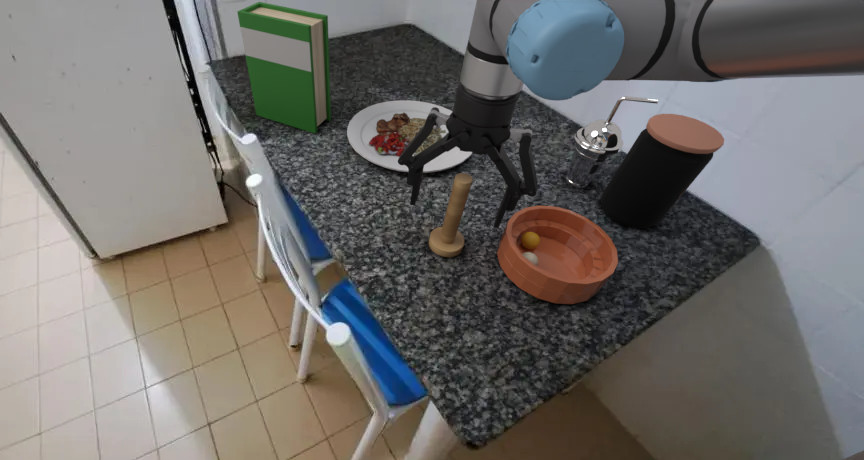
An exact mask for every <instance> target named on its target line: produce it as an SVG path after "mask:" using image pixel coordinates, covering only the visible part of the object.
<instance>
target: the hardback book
mask: <svg viewBox="0 0 864 460" xmlns="http://www.w3.org/2000/svg"><path fill="white" fill-rule="evenodd" d="M236 13H237V17H238V24H239V28H240V29H239V30H240V34H241V39H242V46H243V49H244V51H243V52H244V55H245V61H246V67H247V71H248V76H249V78H248V79H249V82H250V87H251V94H252V99H253V104H254V109H255V114H256V116H259V117H261V118H264V119H268V120H271V121H274V122H277V123H281V124H283V125H287V126H290V127H293V128H295V129H296V128H297V129H299V130H302V131H306V132H309V133H312V134H315V135H316V134H317V133H318V127H319V126H320V125H321V124H322V123H323V122H324V121H327V122H330V121H331V120H332V107H331V103H332V102H331V77H330V75H331V74H330V45H329V17H328V15H327V14H322V13H318V12H313V11H307V10H303V9H298V8H294V7H293V8H292V7H287V6H283V5H278V4H272V3H267V2H262V1H258V2H255V3H254V4H250V5H248V6H246V7H244V8H242V9H240V10H237V12H236Z"/></svg>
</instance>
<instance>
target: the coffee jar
mask: <svg viewBox="0 0 864 460" xmlns="http://www.w3.org/2000/svg"><path fill="white" fill-rule="evenodd" d="M724 143H725V138H724V137H723V134H722V133H721V132H719V130H718V129H716V128H715V127H713V126H711V125H710V124H708V123H706V122H704V121H703V120H702V121H701V120H699V119H697V118H694V117H691V116H686V115H682V114H677V113H659V114H654V115H653V116H651V117H649V119H648V121H647V124H646V126H645V128H644V129H643V130H642V131H640V133H639V134H638V136H637V137H636V139H635V141H634V142H633V144H632V146H631V147H630V149H629V150H628V152H627V153H626V155H625V157H624V158H623V160H622V161H621V163H620V165H619V166H618V168H617V169H616V171H615V173H614V174H613V176H612V177H611V179H610V180H609V182H608V184H607V185H606V187H605V189H604V190H603V191H602V194H601V196H600V204H601V205H600V206H601V209H602V211H603V212H604V214H605V215H606V216H607V217H608V218H609V219H610V220H612V221H615V222H616V223H617V224H619V225H622V226H625V227H629V228H633V229H646V228H650V227H653V226H655V225H657V224H659V223H660V222H661V221H662V220H663V219H664V218H665V216H666V215H667V214H668V212H669V211H670V210H671V209H672V208H673V207H674V206H675V204H676V203H677V202H678V201H679V199H680V198H681V197H682V195H684V193H685V192H686V191H687V190H688V189H689V187H690V186H691V185H692V183H693V182H694V181H695V180H696V179H697V178H698V176H699V175H700V174H701V173H702V171H704V169H705V168H706V167H707V165H708V164H709V163H710V162H711V161H712V159H713V158H714V153H716V152H717V151H718V150H720V149H721V148H722V147H723V146H724Z"/></svg>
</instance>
